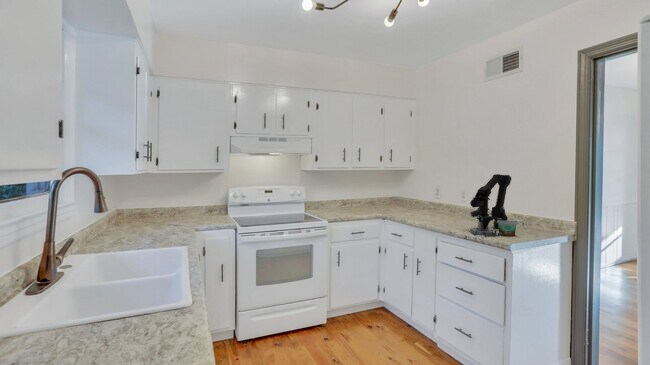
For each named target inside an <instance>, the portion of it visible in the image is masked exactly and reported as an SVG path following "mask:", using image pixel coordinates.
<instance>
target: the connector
mask: <svg viewBox="0 0 650 365" xmlns="http://www.w3.org/2000/svg"><path fill="white" fill-rule="evenodd" d="M486 229H489V225H488V226H487V227H486ZM486 229H483V222H479V221H478V222H477V230H478V231H486Z"/></svg>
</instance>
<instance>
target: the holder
mask: <svg viewBox="0 0 650 365" xmlns="http://www.w3.org/2000/svg"><path fill="white" fill-rule="evenodd" d="M491 230H492V229H489V228H488V229H486V231H479V230H478V231H477V230H475V229H473V228H470V233H471V234H472V235H474V236H482V235H483V232H485V233H486V235H493V233H494V230H493V231H491Z"/></svg>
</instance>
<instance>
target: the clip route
mask: <svg viewBox="0 0 650 365" xmlns="http://www.w3.org/2000/svg"><path fill="white" fill-rule="evenodd" d="M490 230H491V231H493V235H486V233H485V232H483V235H481V236H482V237H484V238H485V237H486V238H487V237H491V238H500V237H501V235H500V233H499V232H497V230H493V229H490Z"/></svg>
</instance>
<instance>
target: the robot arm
mask: <svg viewBox="0 0 650 365" xmlns="http://www.w3.org/2000/svg"><path fill="white" fill-rule="evenodd" d="M511 182H512V176H510V174H500V173H499V174H498V173H494V174H493V175H492V177H491V178H490V179H489V181H488V182H486V184H485V185H482V186H481V187H480V188H478V190H476V191H477V192H476V194H475V195H474V197H472V199H471V201H470V202H469V203H470V206H471V208H477V209H476V210H471V211H470V212H469V213H470V217H472V218H476V219H477V220H478V222H483V229H486V227H487V226H488V227H489V224H490V222H491V221H493V226H492V228H494V229H497V230H498V223H497V221H498V220H502V221H508V216H507V214H506V209H505V207H504V205H505V201H506V194H507V188H508V187H509V186H510V184H511ZM496 185H498V191H497V197H496V202H495V206H493V207H491V210H490V208H489V201H490V200H491V199H490V195H491V194H492V190H493V188H495V187H496ZM489 210H490V214H489Z"/></svg>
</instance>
